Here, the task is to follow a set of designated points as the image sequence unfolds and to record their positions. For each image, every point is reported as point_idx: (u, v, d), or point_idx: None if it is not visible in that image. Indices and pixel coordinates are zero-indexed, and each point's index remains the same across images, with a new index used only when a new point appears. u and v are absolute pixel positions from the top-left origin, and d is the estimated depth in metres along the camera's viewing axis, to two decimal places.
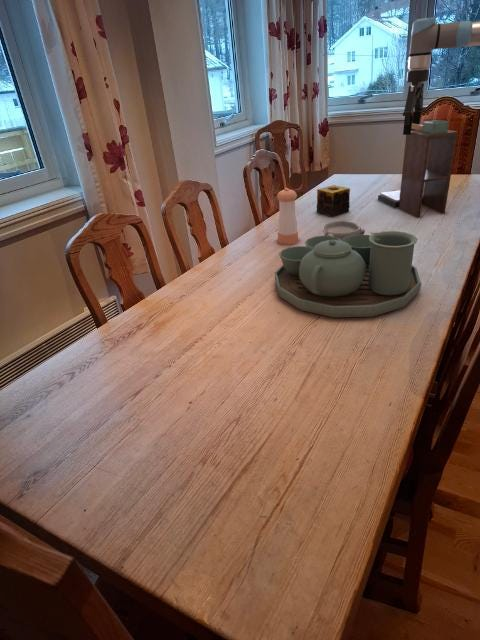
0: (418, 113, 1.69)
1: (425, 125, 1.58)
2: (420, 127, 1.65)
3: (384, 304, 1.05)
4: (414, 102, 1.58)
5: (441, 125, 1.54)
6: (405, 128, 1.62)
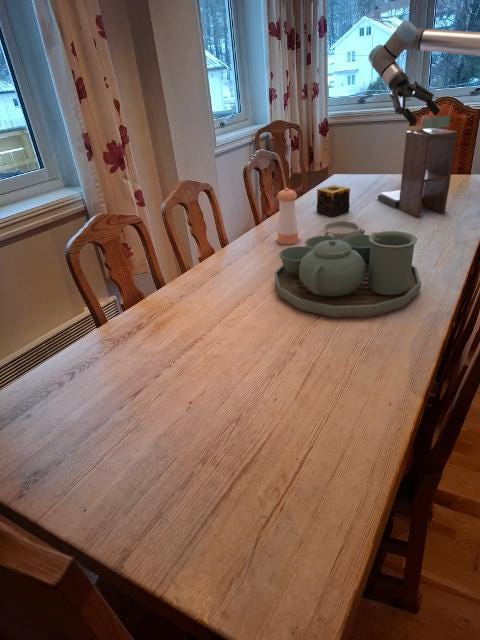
0: (429, 101, 1.76)
1: (425, 121, 1.58)
2: (421, 126, 1.64)
3: (384, 304, 1.05)
4: (402, 99, 1.72)
5: (442, 119, 1.53)
6: (409, 120, 1.72)
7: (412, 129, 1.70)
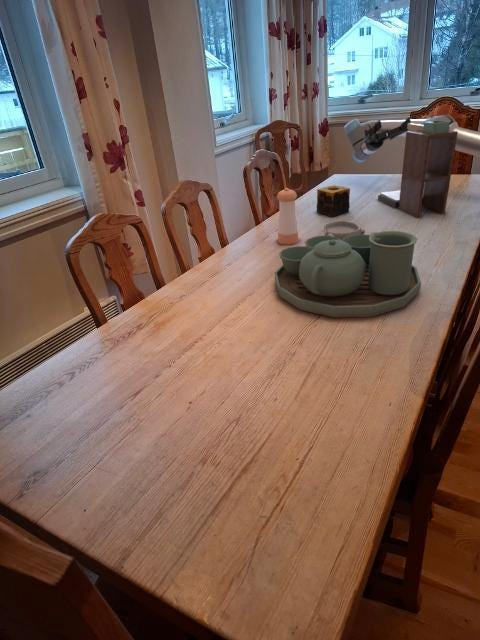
0: (401, 125, 1.88)
1: (426, 125, 1.58)
2: (421, 127, 1.64)
3: (384, 304, 1.05)
4: None
5: (443, 125, 1.54)
6: (377, 128, 1.83)
7: (412, 127, 1.69)
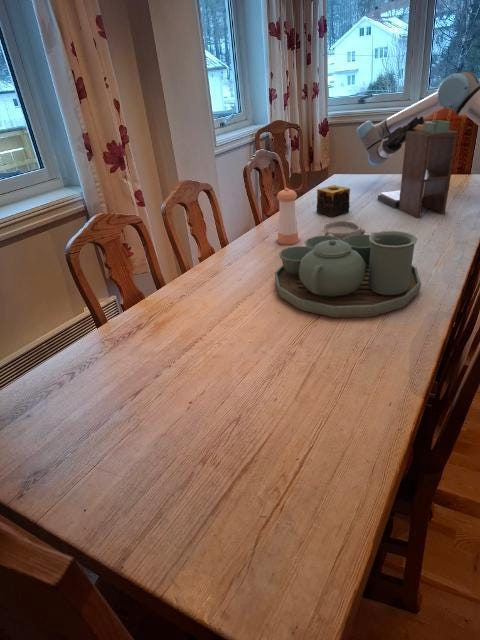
0: None
1: (426, 125, 1.58)
2: (421, 127, 1.64)
3: (384, 304, 1.05)
4: (398, 131, 1.76)
5: (442, 125, 1.54)
6: (413, 124, 1.67)
7: None
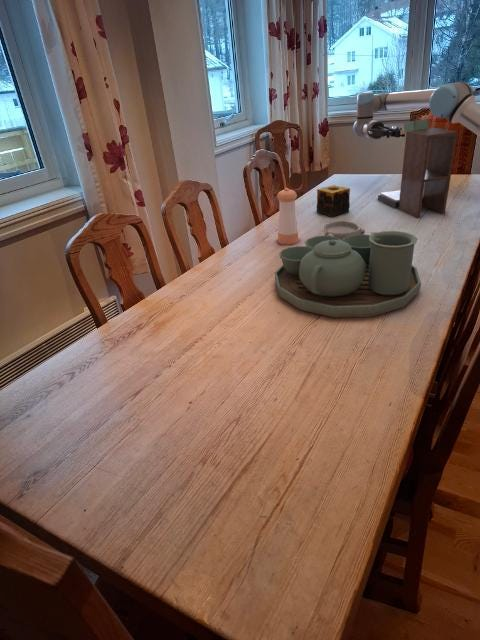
0: None
1: (406, 125, 1.70)
2: (402, 131, 1.76)
3: (384, 304, 1.05)
4: (383, 129, 1.88)
5: (421, 122, 1.65)
6: (395, 135, 1.81)
7: None
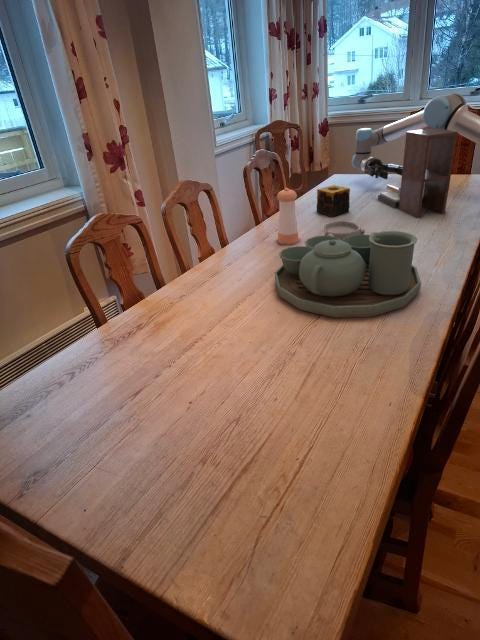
0: (397, 169, 1.93)
1: None
2: (397, 191, 1.88)
3: (384, 304, 1.05)
4: (375, 168, 1.96)
5: None
6: (383, 176, 1.89)
7: (390, 189, 1.94)
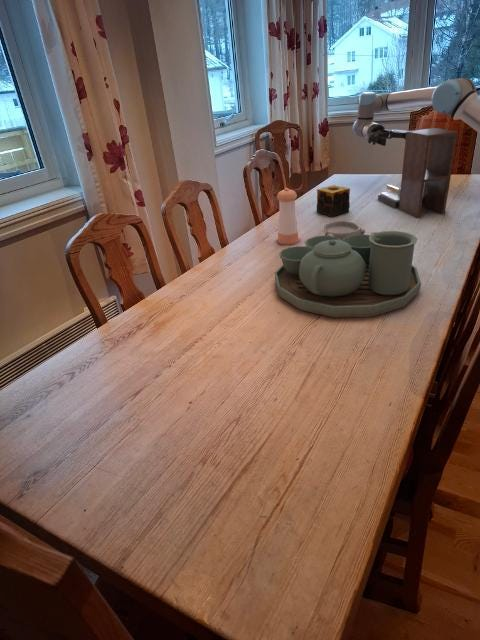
0: (405, 134, 1.88)
1: None
2: (397, 191, 1.88)
3: (384, 304, 1.05)
4: (375, 134, 1.89)
5: None
6: (381, 143, 1.83)
7: (390, 189, 1.94)
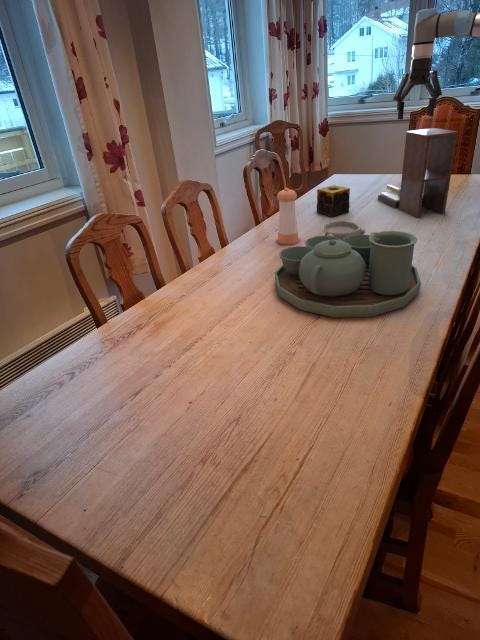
0: (432, 100, 1.75)
1: None
2: (397, 191, 1.88)
3: (384, 304, 1.05)
4: (407, 89, 1.70)
5: None
6: (399, 113, 1.76)
7: (390, 189, 1.94)
